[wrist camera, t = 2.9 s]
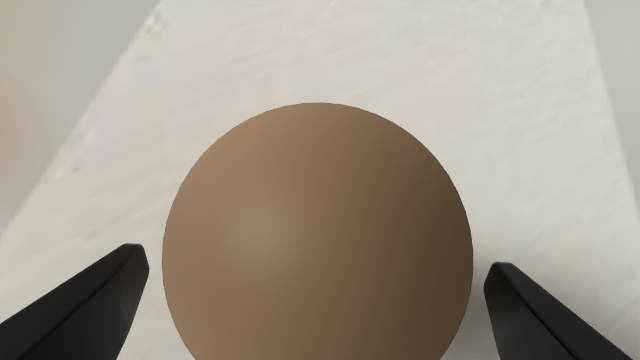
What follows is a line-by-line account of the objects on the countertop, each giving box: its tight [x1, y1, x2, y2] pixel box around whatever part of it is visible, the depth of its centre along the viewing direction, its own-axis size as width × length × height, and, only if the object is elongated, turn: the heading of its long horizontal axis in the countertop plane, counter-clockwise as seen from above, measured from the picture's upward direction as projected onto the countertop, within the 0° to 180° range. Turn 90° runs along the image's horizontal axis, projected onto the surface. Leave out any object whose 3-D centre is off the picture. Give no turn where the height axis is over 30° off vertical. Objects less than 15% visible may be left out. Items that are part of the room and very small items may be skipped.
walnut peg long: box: [162, 103, 473, 360], centre depth 11 cm, size 4×4×13 cm
